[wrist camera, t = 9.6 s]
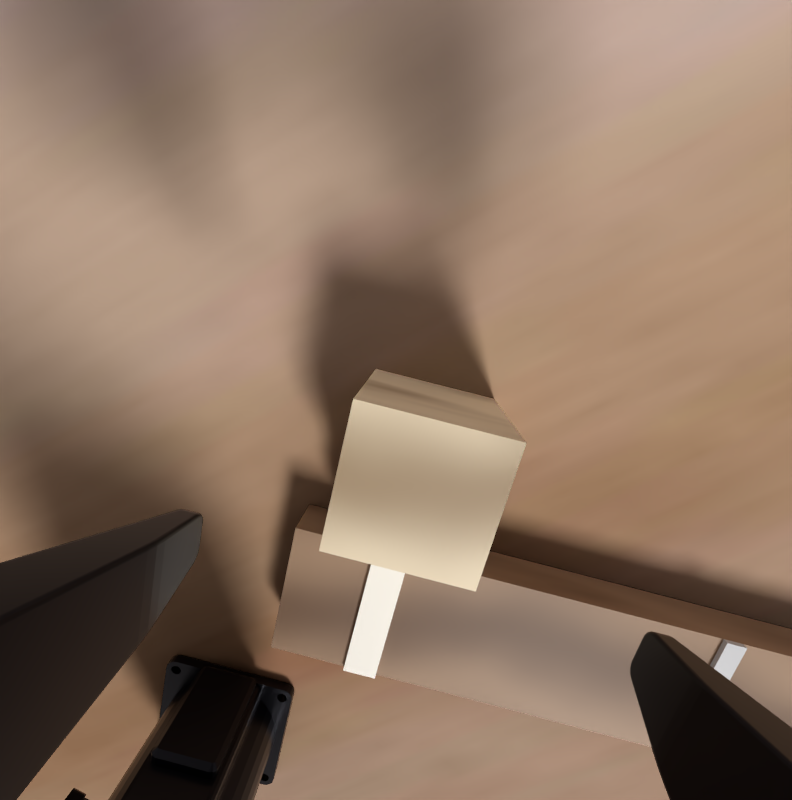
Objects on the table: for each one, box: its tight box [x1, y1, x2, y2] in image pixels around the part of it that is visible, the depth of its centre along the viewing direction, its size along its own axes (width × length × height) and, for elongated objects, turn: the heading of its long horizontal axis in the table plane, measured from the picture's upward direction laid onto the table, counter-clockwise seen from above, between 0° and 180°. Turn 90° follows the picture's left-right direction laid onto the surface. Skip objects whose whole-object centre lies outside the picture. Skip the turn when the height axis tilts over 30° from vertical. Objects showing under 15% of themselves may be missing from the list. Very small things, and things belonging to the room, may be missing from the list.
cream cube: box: [319, 369, 526, 592], centre depth 15 cm, size 6×5×6 cm
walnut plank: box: [271, 504, 792, 747], centre depth 18 cm, size 6×28×2 cm, turn 76°
